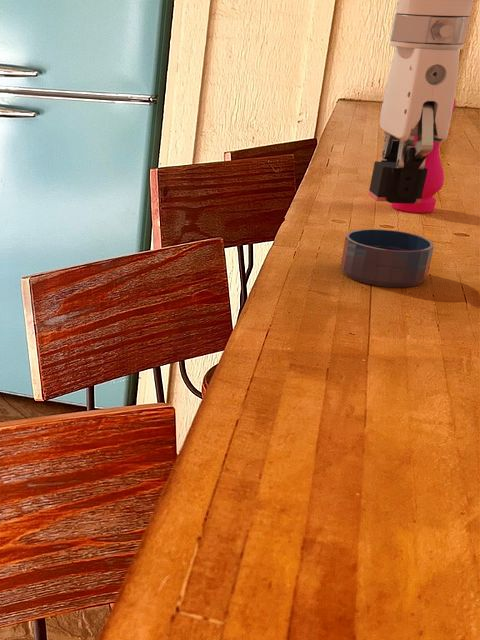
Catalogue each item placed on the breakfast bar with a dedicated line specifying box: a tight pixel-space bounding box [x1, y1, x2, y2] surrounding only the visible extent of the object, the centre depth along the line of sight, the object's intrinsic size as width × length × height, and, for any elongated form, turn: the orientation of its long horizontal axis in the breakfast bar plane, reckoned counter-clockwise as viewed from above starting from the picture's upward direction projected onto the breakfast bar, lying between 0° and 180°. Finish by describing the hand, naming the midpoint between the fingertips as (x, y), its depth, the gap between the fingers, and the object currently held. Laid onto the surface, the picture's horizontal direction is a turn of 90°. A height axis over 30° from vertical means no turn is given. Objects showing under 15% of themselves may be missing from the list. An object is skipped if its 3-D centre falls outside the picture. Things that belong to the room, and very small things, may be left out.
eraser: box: [367, 160, 428, 203], centre depth 104 cm, size 5×3×4 cm
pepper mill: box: [390, 98, 456, 214], centre depth 136 cm, size 7×7×20 cm
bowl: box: [340, 228, 435, 288], centre depth 107 cm, size 10×10×4 cm
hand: (394, 196), depth 104 cm, fingers closed on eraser, 3 cm apart
